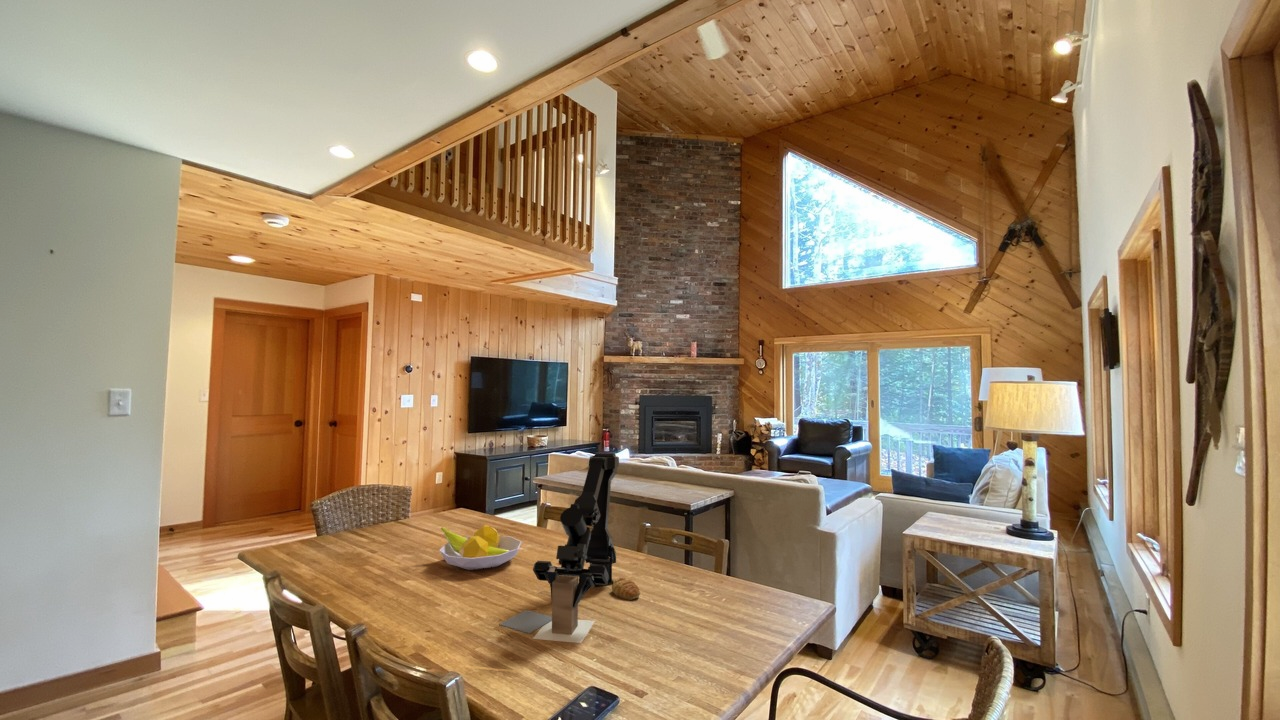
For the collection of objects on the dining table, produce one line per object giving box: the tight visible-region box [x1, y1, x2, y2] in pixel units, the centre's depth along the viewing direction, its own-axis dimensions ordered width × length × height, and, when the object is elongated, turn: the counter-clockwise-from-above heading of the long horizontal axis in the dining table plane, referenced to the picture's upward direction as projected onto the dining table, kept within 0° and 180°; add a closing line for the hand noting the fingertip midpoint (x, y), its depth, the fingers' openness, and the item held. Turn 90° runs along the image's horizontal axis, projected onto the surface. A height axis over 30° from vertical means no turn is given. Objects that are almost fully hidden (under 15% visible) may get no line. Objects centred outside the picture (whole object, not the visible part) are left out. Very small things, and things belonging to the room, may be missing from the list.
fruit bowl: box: [439, 524, 522, 571], centre depth 186 cm, size 28×27×11 cm
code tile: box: [532, 619, 596, 644], centre depth 134 cm, size 12×12×1 cm
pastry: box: [611, 577, 641, 601], centre depth 157 cm, size 9×7×4 cm
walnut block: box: [551, 575, 579, 635], centre depth 134 cm, size 5×5×12 cm
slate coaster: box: [498, 609, 552, 635], centre depth 138 cm, size 10×10×1 cm
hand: (563, 606), depth 133 cm, fingers closed on walnut block, 5 cm apart
